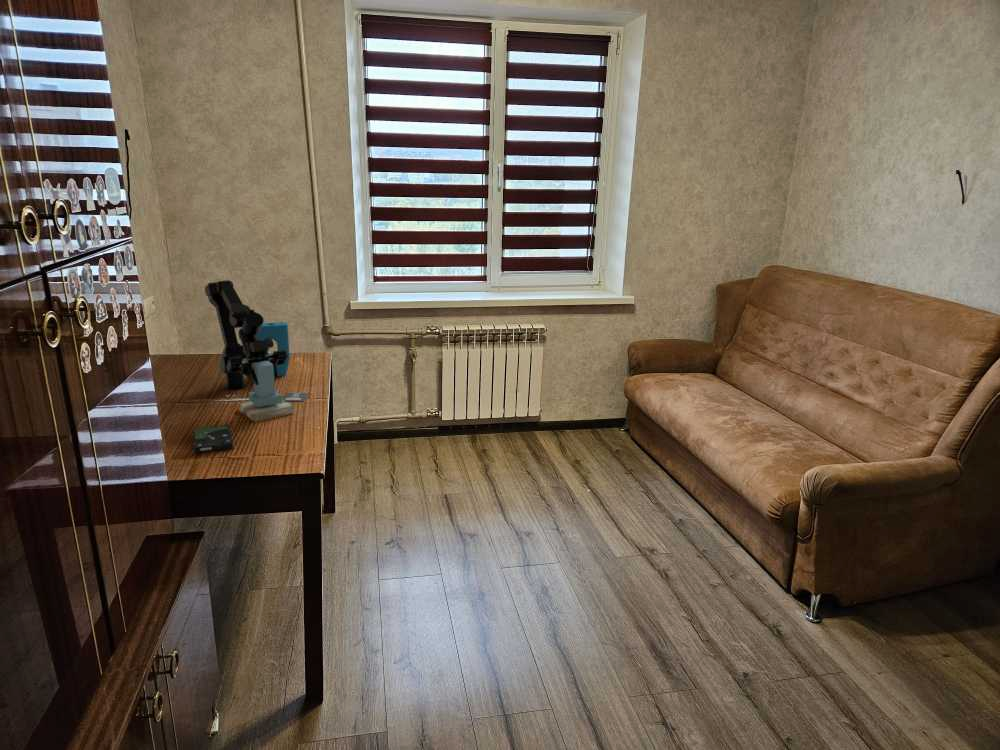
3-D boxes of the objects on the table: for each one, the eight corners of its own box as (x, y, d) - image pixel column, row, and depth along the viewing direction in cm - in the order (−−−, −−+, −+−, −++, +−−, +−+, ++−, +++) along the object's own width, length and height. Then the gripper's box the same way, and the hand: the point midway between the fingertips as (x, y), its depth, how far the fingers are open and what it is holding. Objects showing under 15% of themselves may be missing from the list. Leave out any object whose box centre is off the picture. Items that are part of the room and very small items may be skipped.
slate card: (286, 393, 237) (286, 392, 237) (308, 394, 238) (308, 392, 238) (280, 401, 230) (280, 400, 230) (303, 401, 230) (303, 400, 230)
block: (290, 371, 262) (287, 322, 256) (290, 375, 257) (287, 325, 251) (258, 373, 258) (254, 323, 252) (258, 377, 253) (254, 326, 247)
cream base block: (239, 411, 221) (238, 403, 220) (277, 403, 229) (276, 395, 228) (255, 423, 212) (254, 414, 211) (293, 414, 220) (293, 406, 219)
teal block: (249, 399, 220) (246, 362, 216) (272, 395, 224) (270, 358, 220) (257, 407, 214) (254, 368, 210) (282, 402, 219) (279, 365, 215)
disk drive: (234, 451, 192) (229, 431, 204) (233, 442, 191) (228, 423, 204) (195, 456, 187) (192, 436, 200) (194, 447, 187) (191, 428, 199)
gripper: (226, 333, 209) (241, 376, 204) (284, 326, 220) (299, 366, 216) (220, 351, 217) (234, 392, 213) (276, 343, 229) (291, 382, 224)
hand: (265, 383), depth 216 cm, fingers closed on teal block, 5 cm apart
